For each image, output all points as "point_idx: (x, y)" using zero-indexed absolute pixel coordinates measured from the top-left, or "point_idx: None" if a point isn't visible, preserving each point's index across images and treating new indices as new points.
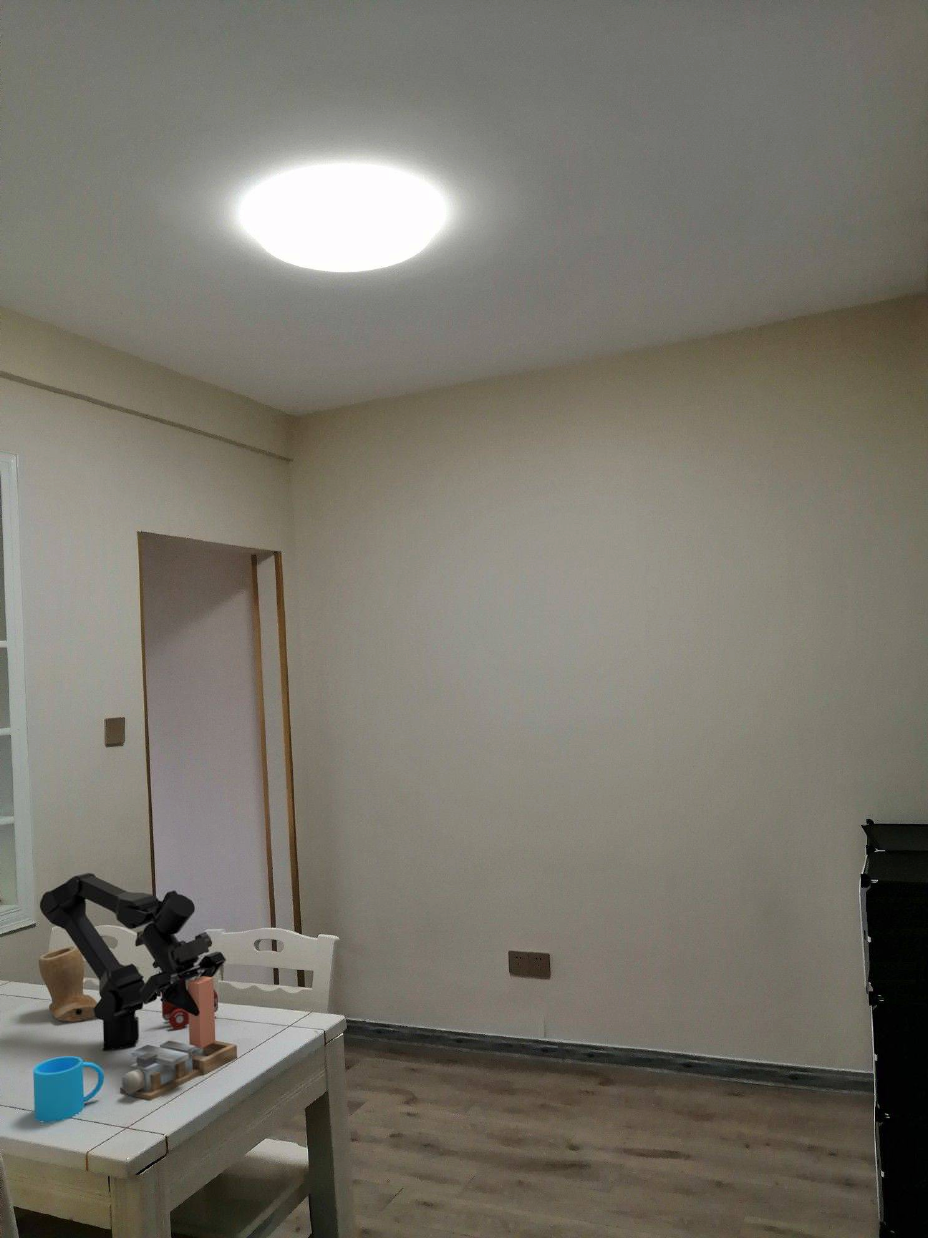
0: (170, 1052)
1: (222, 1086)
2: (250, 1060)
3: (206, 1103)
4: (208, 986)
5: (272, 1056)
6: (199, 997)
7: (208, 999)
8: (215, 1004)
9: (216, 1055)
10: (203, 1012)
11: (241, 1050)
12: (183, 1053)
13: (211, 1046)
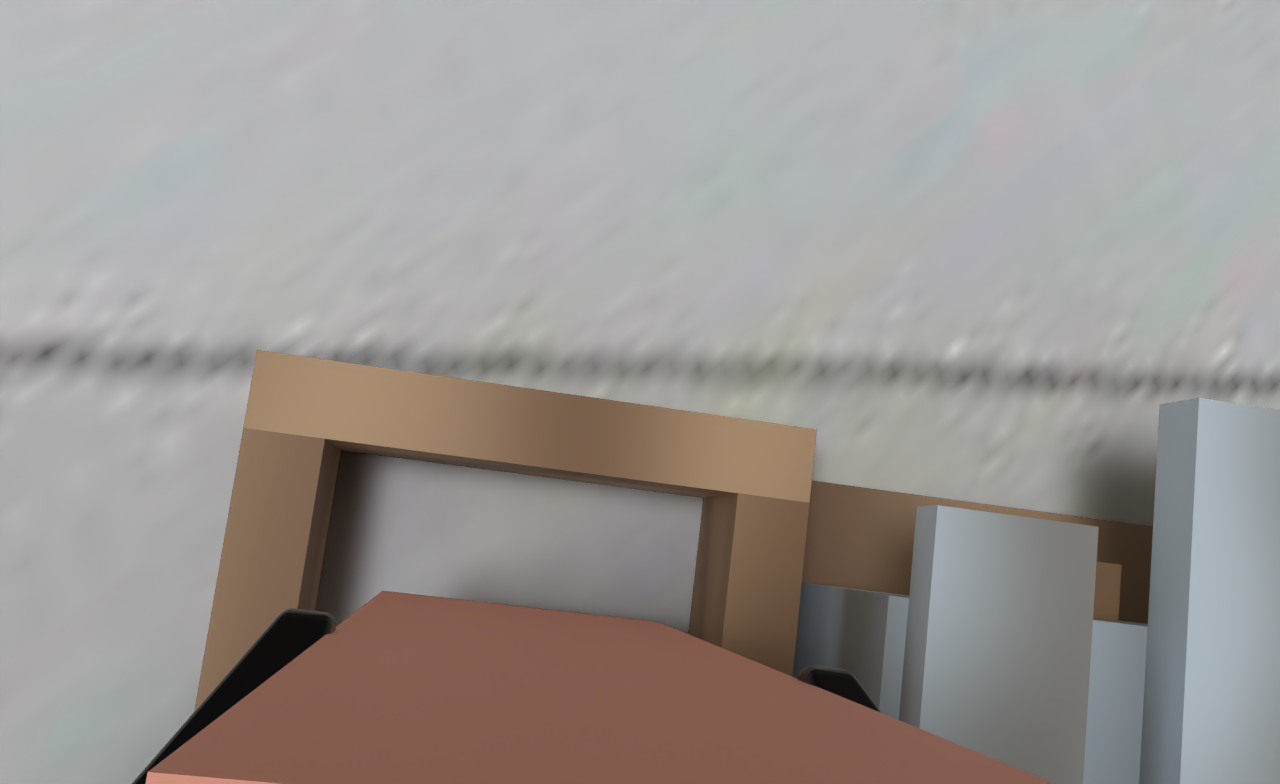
0: (1255, 666)
1: (927, 105)
2: (300, 187)
3: (1235, 44)
4: (539, 749)
5: (132, 8)
6: (930, 744)
7: (526, 681)
8: (291, 622)
9: (614, 402)
10: (681, 663)
11: (51, 464)
12: (1220, 466)
13: None
